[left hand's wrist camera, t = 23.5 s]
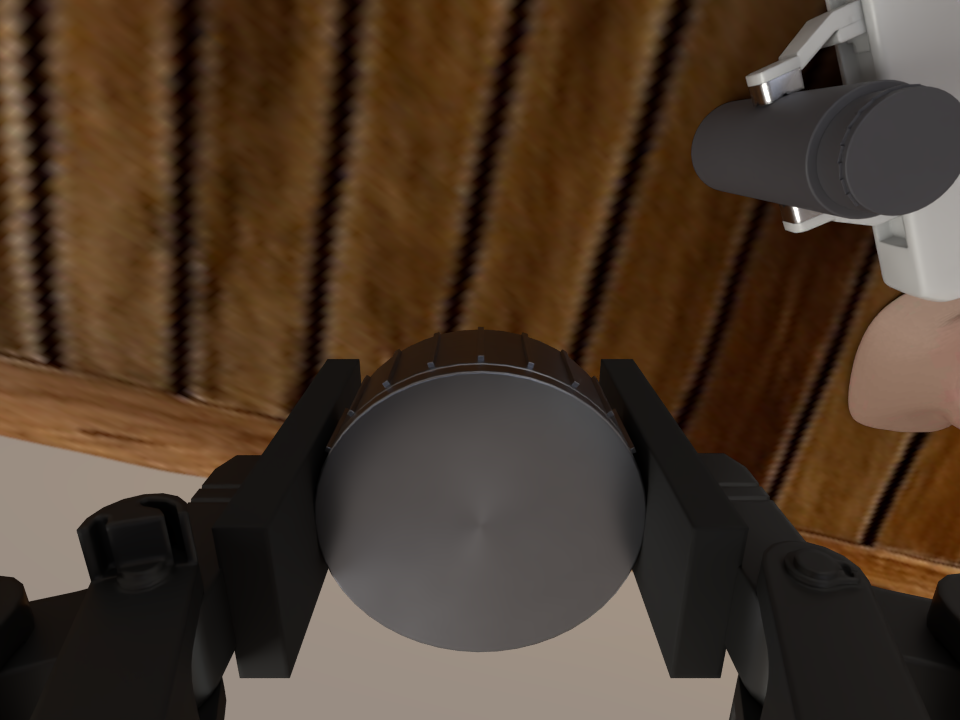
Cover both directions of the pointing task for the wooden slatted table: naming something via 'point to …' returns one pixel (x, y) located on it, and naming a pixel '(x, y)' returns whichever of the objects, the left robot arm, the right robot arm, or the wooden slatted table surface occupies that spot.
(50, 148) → the wooden slatted table surface
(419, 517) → the lid
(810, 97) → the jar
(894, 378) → the anatomical model
